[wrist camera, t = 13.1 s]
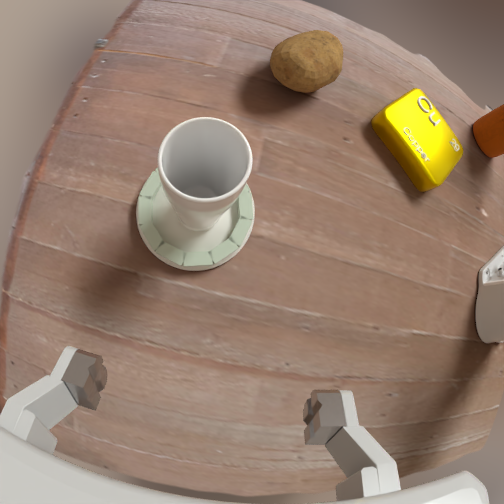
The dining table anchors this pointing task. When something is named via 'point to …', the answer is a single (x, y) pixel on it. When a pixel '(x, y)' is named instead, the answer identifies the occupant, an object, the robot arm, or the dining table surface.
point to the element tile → (418, 139)
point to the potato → (307, 61)
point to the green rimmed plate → (187, 241)
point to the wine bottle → (491, 132)
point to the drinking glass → (203, 170)
